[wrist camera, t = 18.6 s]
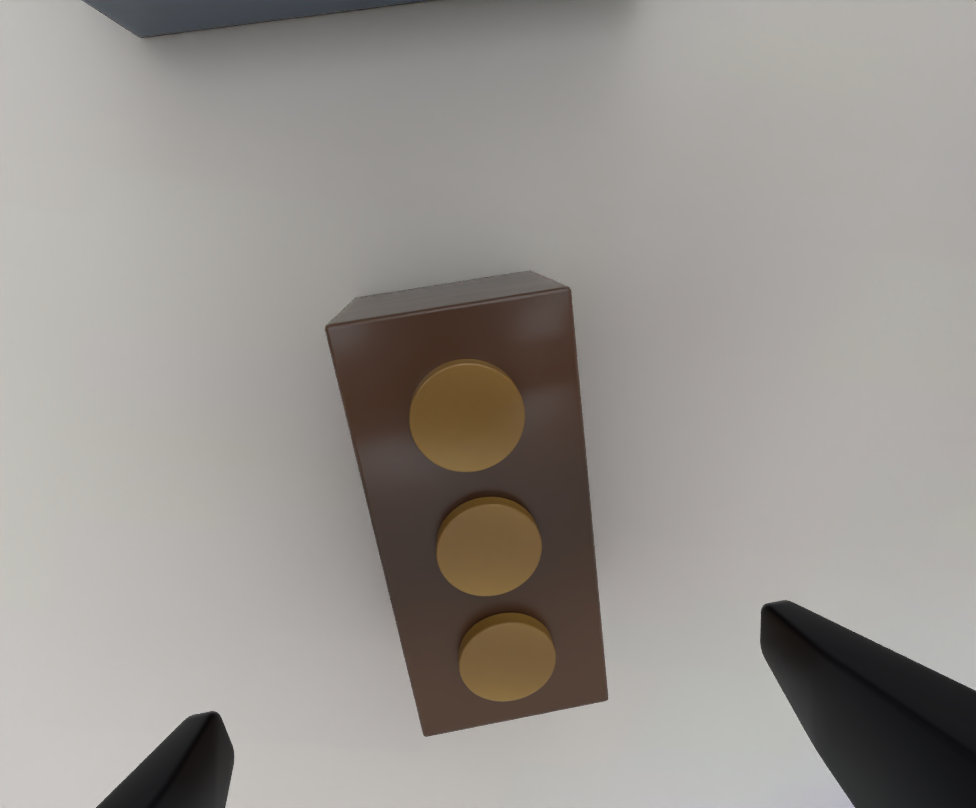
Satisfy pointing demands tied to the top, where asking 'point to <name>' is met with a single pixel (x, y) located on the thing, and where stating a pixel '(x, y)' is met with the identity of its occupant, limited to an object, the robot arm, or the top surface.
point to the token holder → (478, 492)
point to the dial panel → (217, 12)
